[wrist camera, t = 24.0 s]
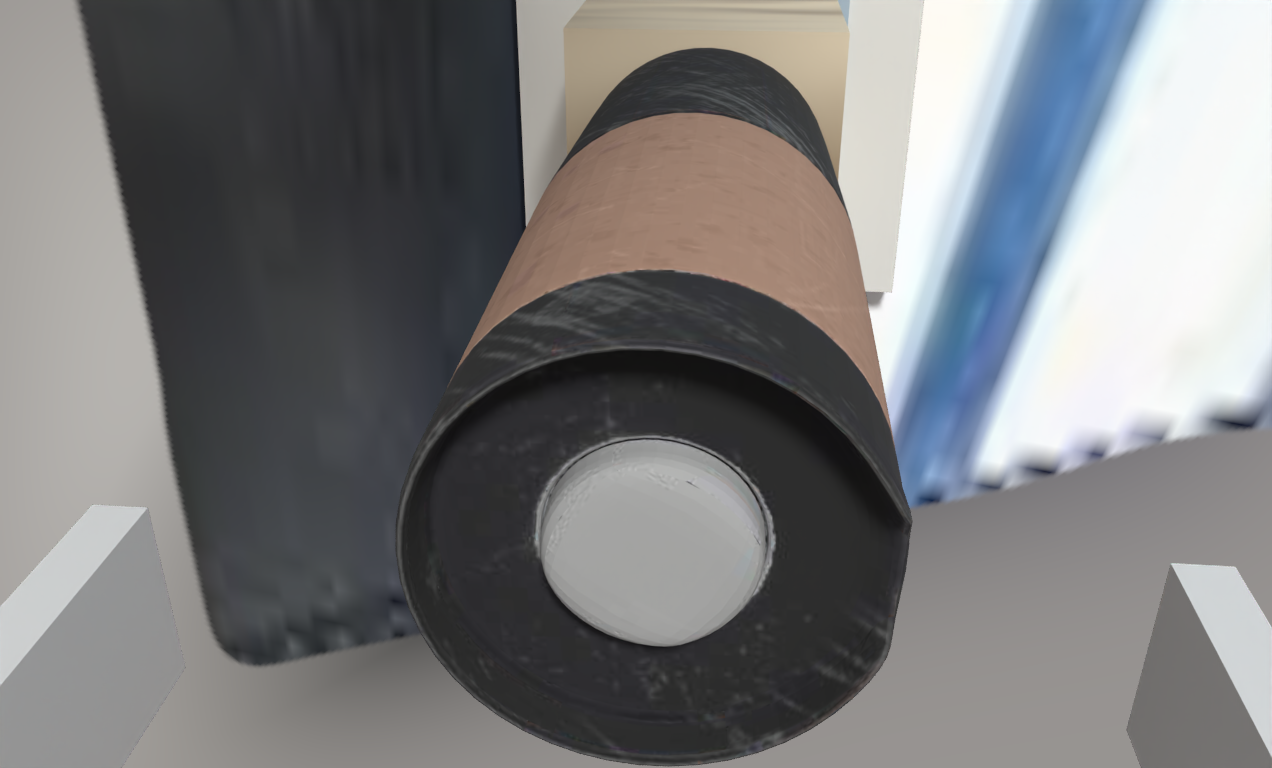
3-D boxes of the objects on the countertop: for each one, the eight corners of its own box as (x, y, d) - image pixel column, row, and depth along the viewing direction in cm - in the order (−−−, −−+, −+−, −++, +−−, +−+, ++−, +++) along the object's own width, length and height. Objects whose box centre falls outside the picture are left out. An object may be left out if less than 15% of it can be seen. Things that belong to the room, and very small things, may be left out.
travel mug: (522, 157, 35) (276, 545, 17) (717, -24, 32) (666, 214, 14) (693, 335, 37) (633, 845, 19) (889, 180, 34) (1035, 611, 16)
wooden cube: (597, -15, 40) (563, 27, 33) (832, -12, 39) (849, 32, 32) (601, 208, 43) (571, 290, 36) (816, 214, 43) (828, 299, 36)
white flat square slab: (517, -113, 40) (510, -110, 39) (931, -109, 39) (936, -106, 38) (533, 267, 46) (527, 281, 45) (888, 280, 45) (892, 294, 44)
